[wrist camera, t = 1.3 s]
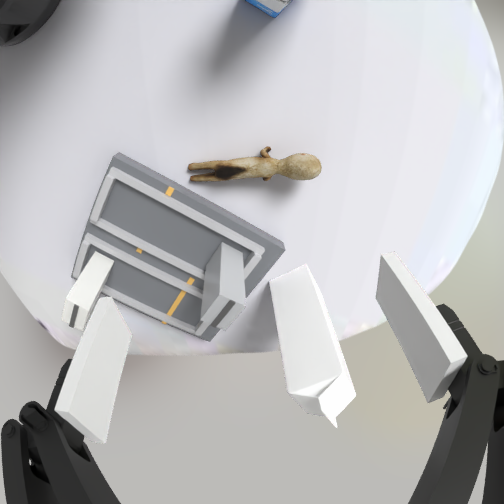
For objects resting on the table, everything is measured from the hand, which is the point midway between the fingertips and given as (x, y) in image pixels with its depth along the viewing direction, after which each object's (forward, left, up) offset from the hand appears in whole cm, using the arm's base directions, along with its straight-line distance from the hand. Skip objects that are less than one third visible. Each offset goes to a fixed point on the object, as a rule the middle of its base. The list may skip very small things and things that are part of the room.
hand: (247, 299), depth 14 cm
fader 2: (+5, -11, -22) cm, 25 cm away
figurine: (+1, +1, -24) cm, 24 cm away
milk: (+17, -11, -24) cm, 31 cm away
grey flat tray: (-1, -16, -24) cm, 29 cm away
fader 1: (-9, -21, -22) cm, 32 cm away
